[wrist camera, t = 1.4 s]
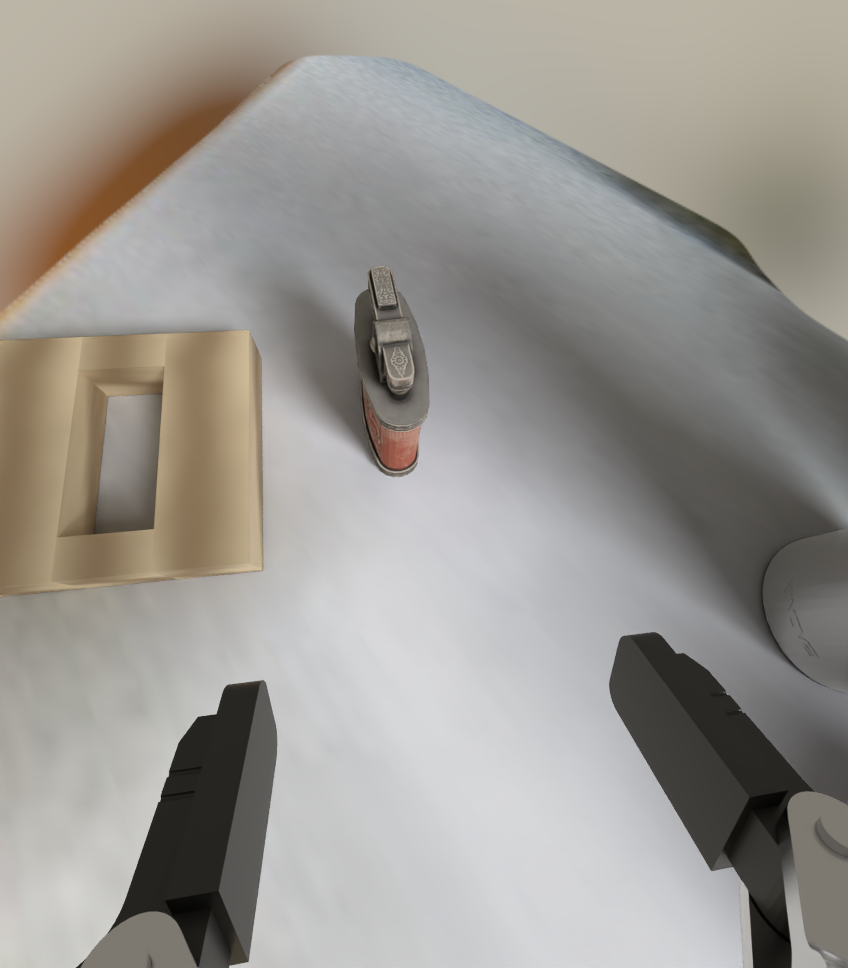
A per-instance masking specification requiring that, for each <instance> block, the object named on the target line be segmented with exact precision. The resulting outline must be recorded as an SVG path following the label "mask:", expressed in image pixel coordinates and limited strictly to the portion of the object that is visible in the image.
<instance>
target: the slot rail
mask: <svg viewBox="0 0 848 968" xmlns="http://www.w3.org/2000/svg"><path fill="white" fill-rule="evenodd" d="M160 393H163V397H162V412H161V428H160V443H159V458H158V474H157V489H156V504H155V519H154V529H149V530H138V531H126V532H115V533H103V534H94V527H95V517H96V508H97V498H98V489H99V479H100V470H101V460H102V451H103V441H104V432H105V422H106V413H107V403H108V396H124V395H142V394H160ZM255 571H263V494H262V359H261V356H260V354H259V352H258V349H257V347H256V345H255V342H254V340H253V338H252V336H251V333H250V331H249V330H240V331H216V332H191V333H167V334H142V335H118V336H93V337H69V338H44V339H20V340H0V597H3V596H13V595H23V594H33V593H44V592H54V591H64V590H74V589H84V588H94V587H104V586H114V585H124V584H134V583H144V582H154V581H164V580H174V579H185V578H195V577H205V576H215V575H225V574H235V573H245V572H255Z"/></svg>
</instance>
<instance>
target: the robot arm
mask: <svg viewBox="0 0 848 968" xmlns="http://www.w3.org/2000/svg"><path fill="white" fill-rule="evenodd" d="M763 605H764V609H765V614H766V618H767V622H768V624H769V626H770V629H771V631H772V633H773V636H774V638H775V639H776V641H777V642H778V644H779V646H780V647H781V649H782V650H783V652H784V653H785V654H786V656H787V657H788V658H789V659H790V660H791V661H792V662H793V664H794V665H795V666H796V667H797V668H799V669H800V670H801V671H802V672H803V673H805V674H806V675H807V676H808V677H810V678H811V679H813V680H814V681H816V682H818V683H820V684H822V685H823V686H825V687H828V688H831V689H834V690H837V691H840V692H844V693H848V528H847V529H843V530H838V531H834V532H830V533H825V534H821V535H817V536H812V537H808V538H804V539H800V540H798V541H795V542H792V543H789V544H788V545H786V546H785V547H784V548H782V549H781V550H779V551H778V553H777V554H776V555H775V556H774V558H773V559H772V560H771V562H770V564H769V566H768V568H767V571H766V573H765V578H764V583H763ZM609 687H610V694H611V698H612V702H613V704H614V707H615V709H616V711H617V712H618V714H619V716H620V717H621V719H622V721H623V722H624V724H625V726H626V728H627V729H628V731H629V733H630V734H631V736H632V738H633V739H634V741H635V743H636V744H637V746H638V748H639V749H640V751H641V753H642V755H643V756H644V758H645V760H646V761H647V763H648V765H649V766H650V768H651V770H652V771H653V773H654V775H655V777H656V778H657V780H658V782H659V783H660V785H661V787H662V788H663V790H664V792H665V793H666V795H667V797H668V799H669V800H670V802H671V804H672V805H673V807H674V809H675V810H676V812H677V814H678V815H679V817H680V819H681V821H682V822H683V824H684V826H685V827H686V829H687V831H688V832H689V834H690V836H691V837H692V839H693V841H694V842H695V844H696V846H697V848H698V849H699V851H700V853H701V854H702V856H703V858H704V859H705V861H706V863H707V864H708V866H709V868H710V870H711V871H714V870H719V869H724V868H729V867H734V869H735V870H736V872H737V874H738V875H739V877H740V878H741V880H742V882H741V886H740V911H741V931H742V951H743V968H848V805H846V804H845V803H843V802H841V801H839V800H837V799H835V798H833V797H831V796H828V795H825V794H822V793H817V792H814V791H813V790H812V789H811V788H810V787H809V786H808V785H807V784H806V783H805V782H804V781H803V779H802V778H801V777H800V776H799V775H798V774H797V773H796V771H795V770H794V769H793V768H792V767H791V766H790V764H789V763H788V762H787V761H786V760H785V759H784V758H783V756H782V755H781V754H780V753H779V752H778V751H777V749H776V748H775V747H774V746H773V745H772V744H771V743H770V741H769V740H768V739H767V738H766V737H765V736H764V734H763V733H762V732H761V731H760V730H759V729H758V728H757V726H756V725H755V724H754V723H753V722H752V721H751V719H750V718H749V717H748V716H747V715H746V714H745V713H742V711H741V708H740V707H739V706H738V704H737V703H736V702H735V701H734V700H733V699H732V698H731V696H730V695H727V694H726V691H725V689H724V688H723V687H722V686H721V685H720V684H719V683H718V681H717V680H716V679H715V678H714V677H713V676H712V674H711V673H710V672H709V671H708V670H707V669H705V668H704V667H703V666H701V665H700V664H698V663H697V662H696V661H694V660H693V659H691V658H690V657H689V656H687V655H686V654H684V653H681V654H676V653H675V652H674V650H673V649H672V648H671V647H670V646H669V644H668V643H667V642H666V641H665V639H664V638H663V637H662V636H661V635H659V634H658V633H655V632H651V633H643V634H635V635H628V636H623V637H621V639H620V641H619V644H618V648H617V652H616V656H615V661H614V665H613V669H612V673H611V677H610V682H609ZM276 757H277V730H276V724H275V720H274V716H273V711H272V707H271V703H270V698H269V694H268V690H267V686H266V683H265V681H264V680H262V681H254V682H246V683H238V684H230V685H227V686H226V687H225V688H224V691H223V694H222V697H221V700H220V704H219V708H218V711H217V714H216V715H208V716H201V717H198V718H197V719H196V720H195V722H194V723H193V724H192V726H191V727H190V728H189V730H188V731H187V732H186V734H185V735H184V736H183V738H182V739H181V740H180V742H179V744H178V747H177V750H176V753H175V756H174V758H173V761H172V764H171V767H170V770H169V777H167V779H166V782H165V785H164V788H163V791H162V794H161V801H160V802H158V805H157V808H156V811H155V814H154V817H153V820H152V823H151V826H150V829H149V832H148V835H147V838H146V841H145V844H144V846H143V849H142V852H141V855H140V858H139V861H138V864H137V867H136V870H135V873H134V876H133V879H132V882H131V885H130V888H129V891H128V893H127V896H126V899H125V902H124V904H123V907H122V909H121V911H120V913H119V915H118V917H117V919H116V921H115V923H114V924H113V926H112V927H111V929H110V931H109V932H108V934H107V935H106V936H105V937H104V938H103V939H102V940H101V941H100V942H99V943H98V944H97V945H96V946H95V948H94V949H93V950H92V951H91V953H90V954H89V955H88V957H87V958H86V959H85V960H84V961H83V962H82V963H81V964H80V965H79V966H78V967H76V968H229V966H230V965H235V964H240V963H245V962H248V961H249V954H250V947H251V940H252V932H253V925H254V918H255V910H256V903H257V896H258V889H259V881H260V874H261V867H262V859H263V852H264V845H265V838H266V830H267V823H268V816H269V808H270V801H271V794H272V787H273V779H274V772H275V765H276Z"/></svg>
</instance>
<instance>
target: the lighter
mask: <svg viewBox="0 0 848 968" xmlns="http://www.w3.org/2000/svg"><path fill="white" fill-rule="evenodd" d="M354 332H355V342H356V352H357V361H358V367H359V371H360V375H361V383H360V398H361V408H362V418H363V425H364V429H365V432H366V436H367V440H368V444H369V447H370V449H371V452H372V454H373V457H374V459H375V461H376V464H377V466H378V468H379V469H380V471H381V472H382V473H384V474H385V475H388V476H391V477H402V476H405V475H408V474H409V473H411V472H412V471H413V470H414V469H415V467H416V466H417V462H418V457H419V434H420V429H421V425H422V423H423V422H424V421H425V419H426V417H427V413H428V408H429V375H428V369H427V362H426V356H425V350H424V346H423V343H422V340H421V337H420V333H419V330H418V327H417V324H416V321H415V319H414V317H413V315H412V313H411V311H410V309H409V307H408V305H407V302H406V300H405V298H404V297H403V296H402V295H401V293H399V292H398V291H397V290H396V286H395V281H394V277H393V273H392V271H391V270H390V269H389V268H387V267H386V266H378V267H374V268H371V269H370V270H369V271H368V289H367V290H366V291H364V292H362V293H361V294H360V295H359V296H358V298H357V300H356V303H355V324H354Z"/></svg>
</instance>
